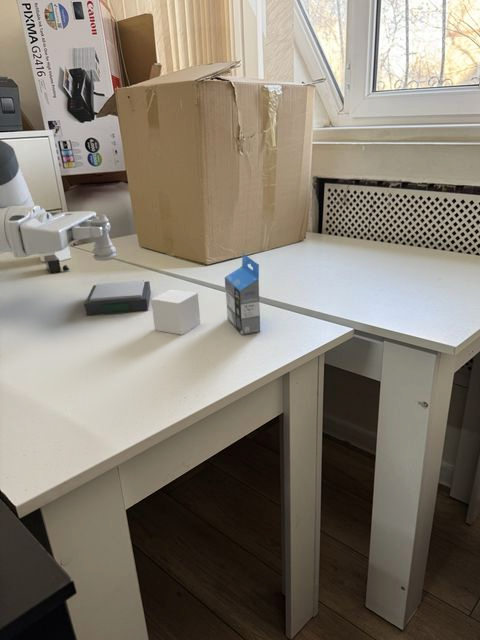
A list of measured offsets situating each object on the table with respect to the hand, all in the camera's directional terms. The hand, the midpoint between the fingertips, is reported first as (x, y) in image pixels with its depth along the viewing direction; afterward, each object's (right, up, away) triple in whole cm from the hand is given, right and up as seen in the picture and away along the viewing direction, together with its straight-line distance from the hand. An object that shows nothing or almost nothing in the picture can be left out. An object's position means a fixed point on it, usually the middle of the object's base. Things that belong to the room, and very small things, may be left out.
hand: (105, 229), depth 94 cm
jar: (-29, +3, +48) cm, 56 cm away
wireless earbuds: (-24, -2, +37) cm, 44 cm away
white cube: (+14, -18, -1) cm, 23 cm away
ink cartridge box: (+26, -18, -1) cm, 32 cm away
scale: (-1, -13, +12) cm, 18 cm away
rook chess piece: (-1, -5, +2) cm, 6 cm away
